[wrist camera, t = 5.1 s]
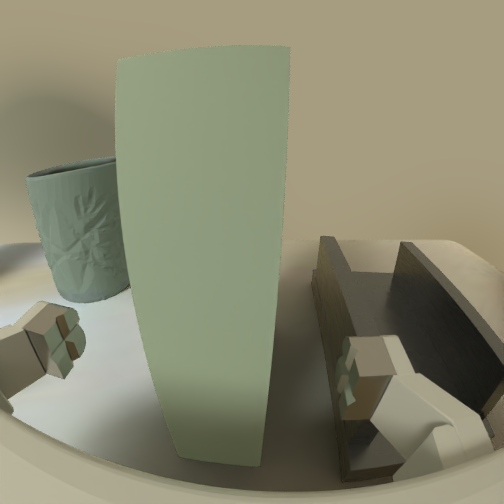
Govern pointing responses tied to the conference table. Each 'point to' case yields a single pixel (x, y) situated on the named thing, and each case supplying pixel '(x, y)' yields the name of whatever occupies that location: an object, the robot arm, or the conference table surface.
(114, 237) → the green embossed cup
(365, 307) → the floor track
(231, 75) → the green upright rectangular block
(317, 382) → the conference table surface
